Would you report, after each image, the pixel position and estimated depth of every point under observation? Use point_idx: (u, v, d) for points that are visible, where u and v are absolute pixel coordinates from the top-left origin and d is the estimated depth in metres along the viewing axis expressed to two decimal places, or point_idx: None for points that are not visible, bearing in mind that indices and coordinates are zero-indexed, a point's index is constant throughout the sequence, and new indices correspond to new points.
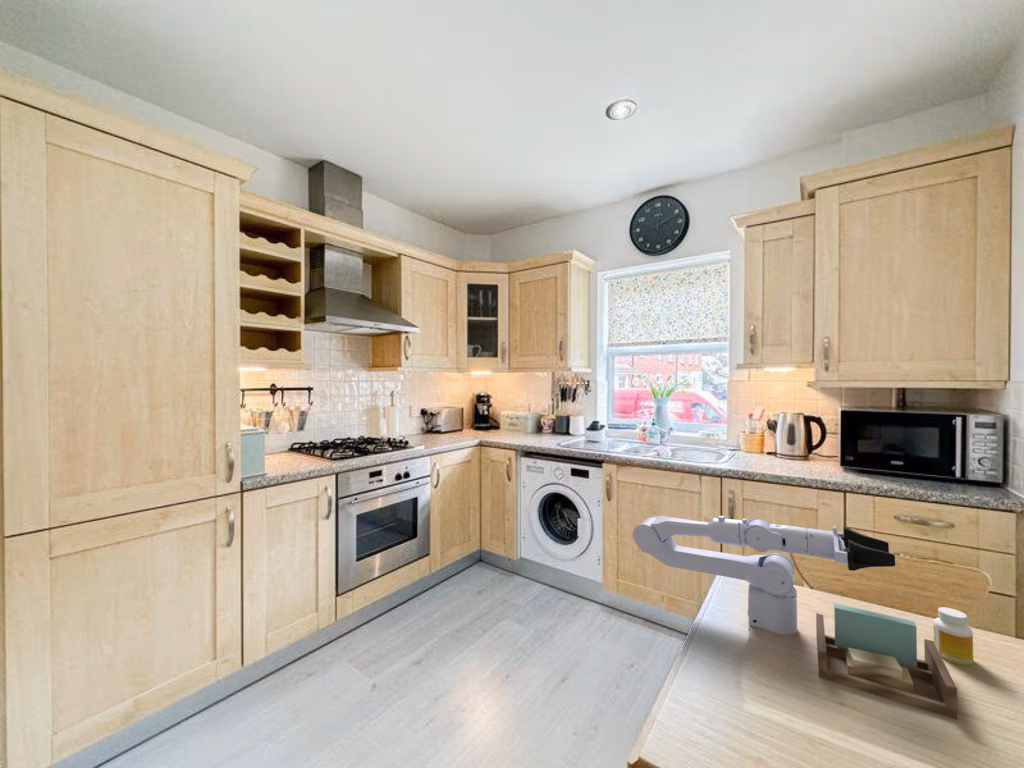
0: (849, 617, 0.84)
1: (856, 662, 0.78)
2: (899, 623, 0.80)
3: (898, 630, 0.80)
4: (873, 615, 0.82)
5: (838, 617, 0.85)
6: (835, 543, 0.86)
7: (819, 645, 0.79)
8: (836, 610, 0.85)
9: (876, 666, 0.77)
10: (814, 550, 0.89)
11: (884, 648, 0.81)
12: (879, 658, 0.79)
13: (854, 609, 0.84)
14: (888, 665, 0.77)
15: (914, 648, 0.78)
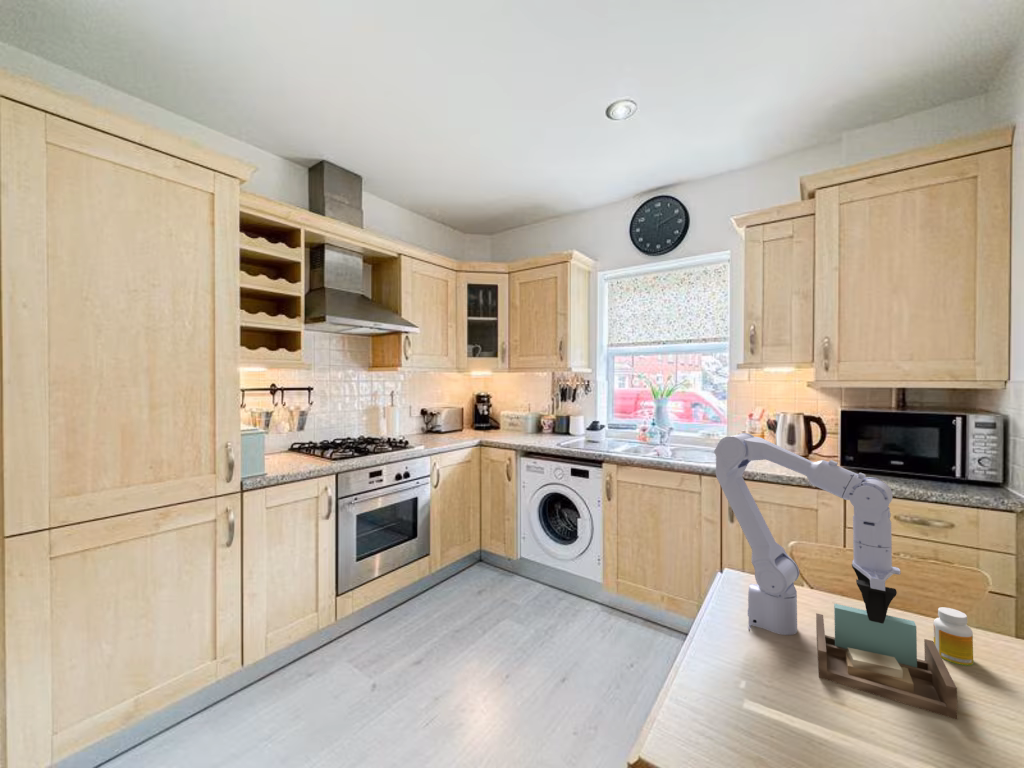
0: (849, 617, 0.84)
1: (856, 662, 0.78)
2: (899, 623, 0.80)
3: (898, 630, 0.80)
4: None
5: (838, 617, 0.85)
6: (887, 576, 0.78)
7: (819, 645, 0.79)
8: (836, 610, 0.85)
9: (876, 666, 0.77)
10: (868, 551, 0.81)
11: (884, 648, 0.81)
12: (879, 658, 0.79)
13: (854, 609, 0.84)
14: (888, 665, 0.77)
15: (914, 648, 0.78)
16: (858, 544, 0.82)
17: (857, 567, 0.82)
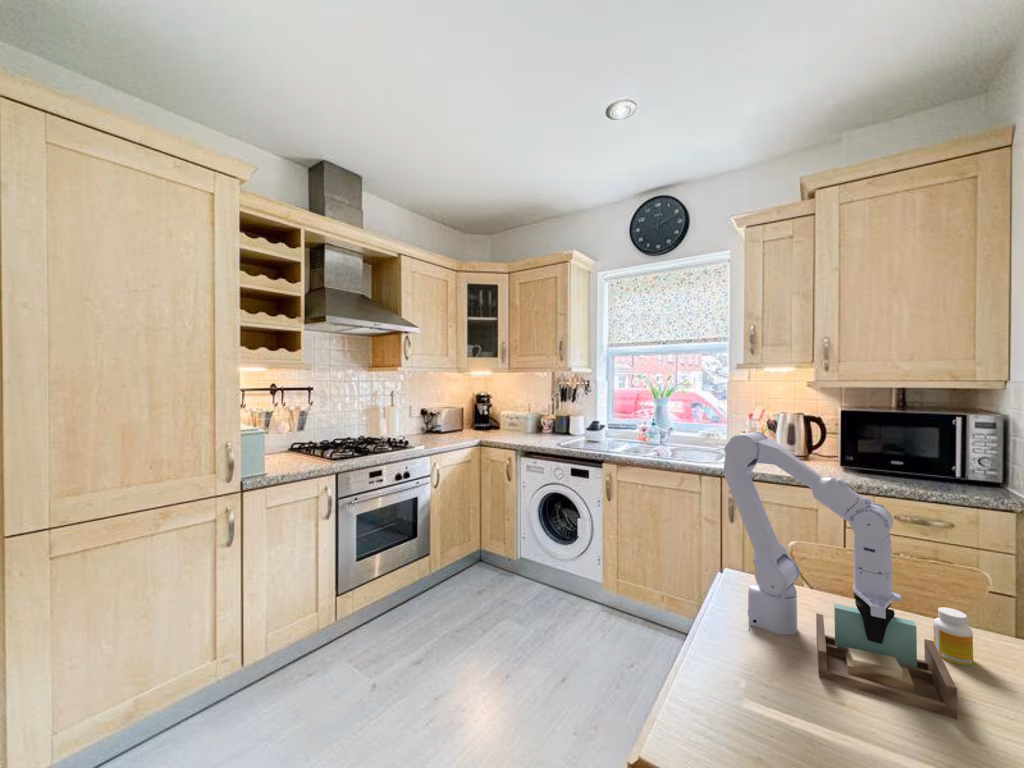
0: (849, 617, 0.84)
1: (856, 662, 0.78)
2: (899, 623, 0.80)
3: (898, 630, 0.80)
4: None
5: (838, 617, 0.85)
6: (888, 603, 0.78)
7: (819, 645, 0.79)
8: (836, 610, 0.85)
9: (876, 666, 0.77)
10: (868, 577, 0.81)
11: (884, 648, 0.81)
12: (879, 658, 0.79)
13: (854, 609, 0.84)
14: (888, 665, 0.77)
15: (914, 648, 0.78)
16: (858, 570, 0.82)
17: (857, 593, 0.82)
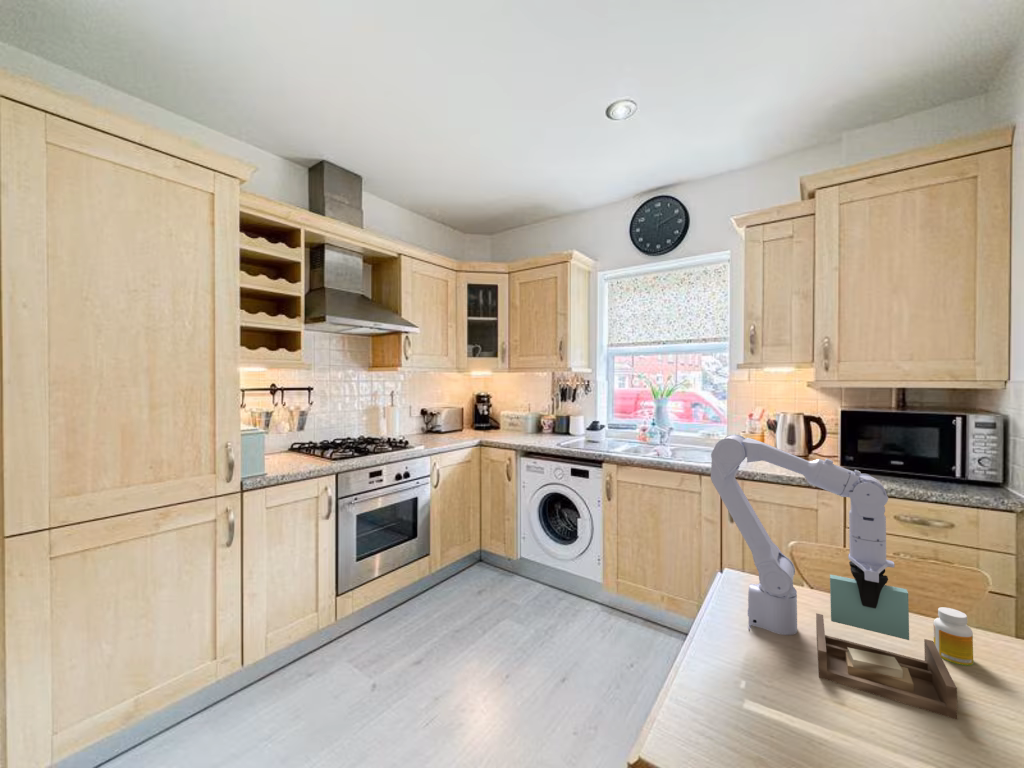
0: (844, 586, 0.87)
1: (856, 662, 0.78)
2: (892, 590, 0.83)
3: (891, 597, 0.83)
4: None
5: (833, 587, 0.88)
6: (881, 569, 0.81)
7: (819, 645, 0.79)
8: (831, 580, 0.88)
9: (876, 666, 0.77)
10: (863, 545, 0.84)
11: (877, 615, 0.84)
12: (879, 658, 0.79)
13: (849, 579, 0.88)
14: (888, 665, 0.77)
15: (906, 614, 0.82)
16: (854, 538, 0.86)
17: (853, 560, 0.85)
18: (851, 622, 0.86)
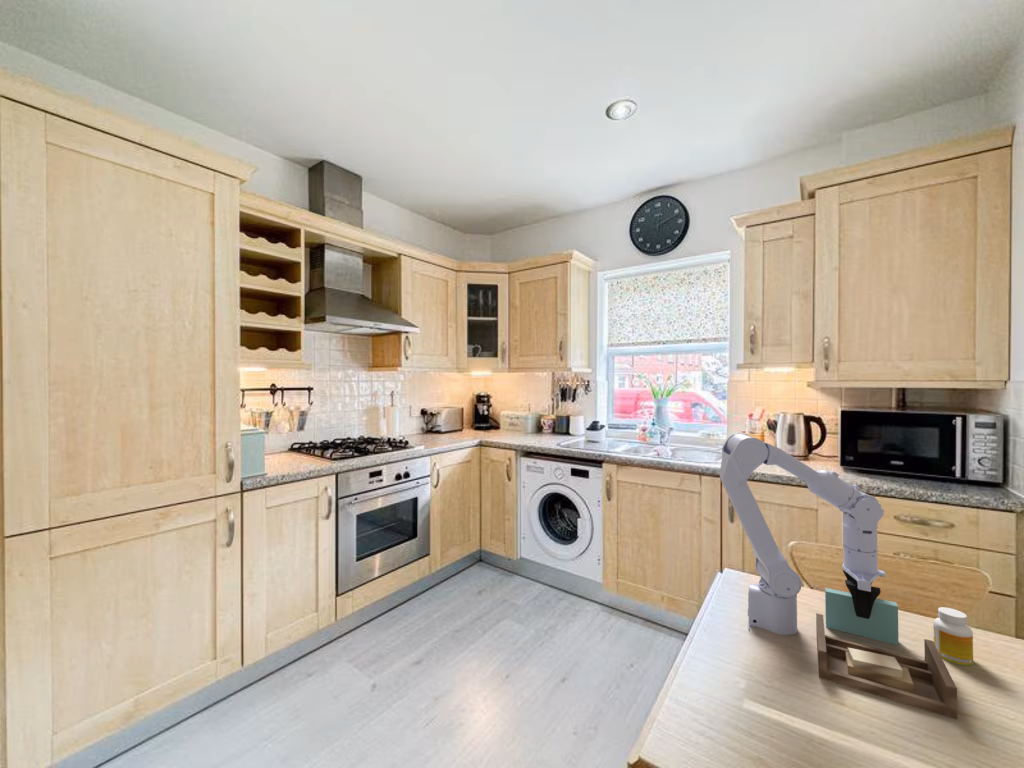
0: (838, 599, 0.93)
1: (856, 662, 0.78)
2: (883, 604, 0.89)
3: (882, 610, 0.89)
4: None
5: (828, 600, 0.94)
6: (873, 578, 0.87)
7: (819, 645, 0.79)
8: (827, 593, 0.94)
9: (876, 666, 0.77)
10: (856, 556, 0.90)
11: (869, 627, 0.90)
12: (879, 658, 0.79)
13: (843, 592, 0.93)
14: (888, 665, 0.77)
15: (896, 626, 0.87)
16: (847, 549, 0.91)
17: (846, 570, 0.91)
18: None
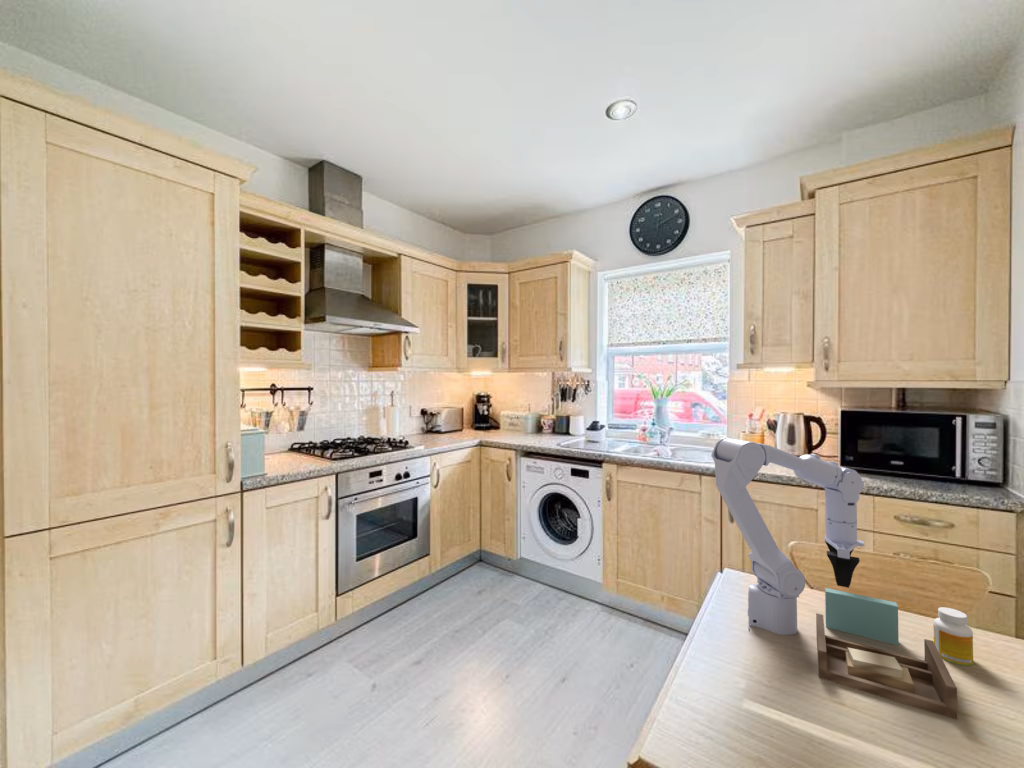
0: (838, 599, 0.93)
1: (856, 662, 0.78)
2: (883, 604, 0.89)
3: (882, 610, 0.89)
4: (860, 597, 0.91)
5: (828, 600, 0.94)
6: (852, 547, 0.92)
7: (819, 645, 0.79)
8: (827, 593, 0.94)
9: (876, 666, 0.77)
10: (837, 527, 0.95)
11: (869, 627, 0.90)
12: (879, 658, 0.79)
13: (843, 592, 0.93)
14: (888, 665, 0.77)
15: (896, 626, 0.87)
16: (829, 521, 0.96)
17: (828, 540, 0.96)
18: None
